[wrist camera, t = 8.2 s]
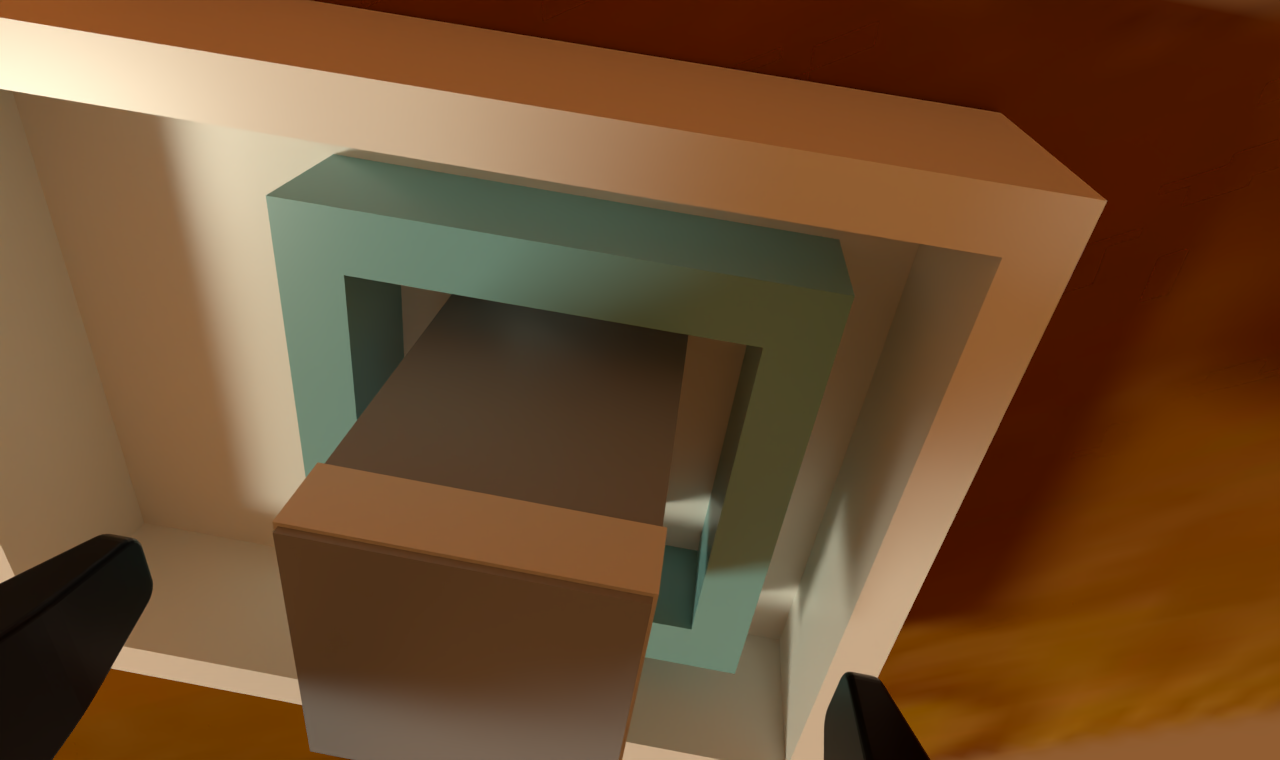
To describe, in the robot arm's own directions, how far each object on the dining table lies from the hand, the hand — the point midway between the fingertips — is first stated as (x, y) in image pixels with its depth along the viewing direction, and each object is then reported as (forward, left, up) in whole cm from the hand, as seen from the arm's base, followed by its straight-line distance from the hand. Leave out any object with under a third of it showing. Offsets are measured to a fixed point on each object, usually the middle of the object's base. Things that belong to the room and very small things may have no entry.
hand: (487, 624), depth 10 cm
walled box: (0, +2, -6) cm, 6 cm away
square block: (0, 0, -5) cm, 5 cm away
